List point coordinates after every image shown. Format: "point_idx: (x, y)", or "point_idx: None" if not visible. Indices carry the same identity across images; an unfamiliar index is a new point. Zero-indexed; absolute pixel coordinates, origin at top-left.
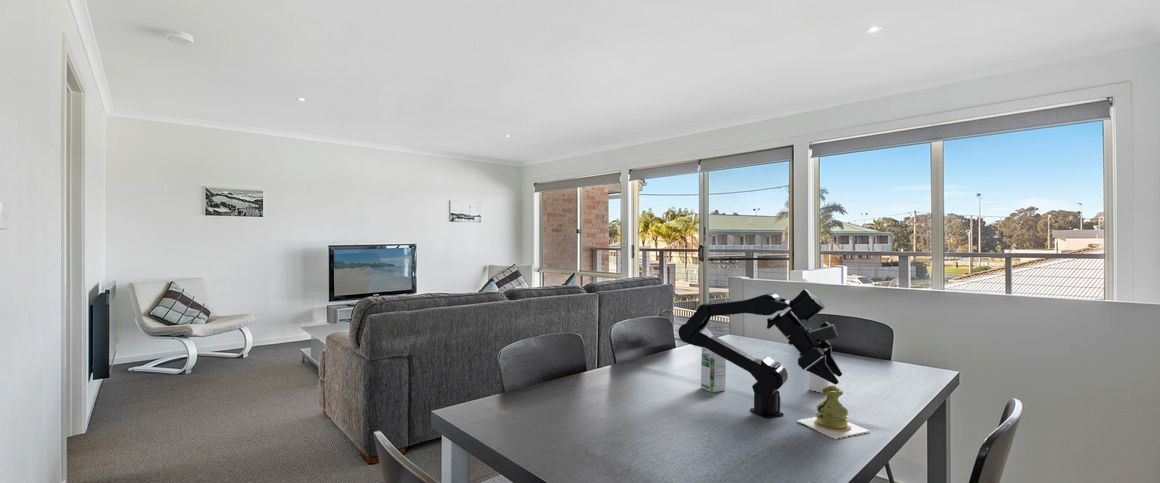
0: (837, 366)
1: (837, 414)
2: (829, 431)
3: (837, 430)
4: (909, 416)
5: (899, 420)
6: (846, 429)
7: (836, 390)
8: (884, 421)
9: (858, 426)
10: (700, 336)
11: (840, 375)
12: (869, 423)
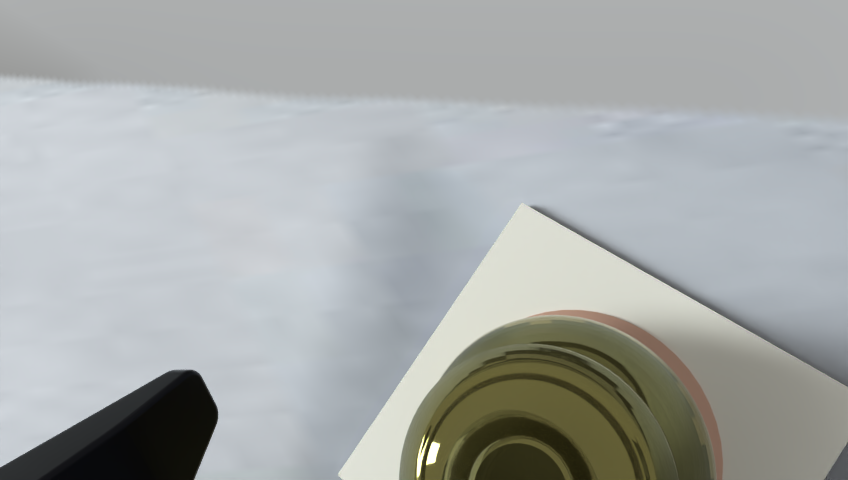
0: (46, 463)
1: (690, 396)
2: (746, 453)
3: None
4: (144, 87)
5: (221, 113)
6: None
7: (594, 423)
8: (272, 170)
9: (479, 274)
10: None
11: (207, 397)
12: (348, 232)
